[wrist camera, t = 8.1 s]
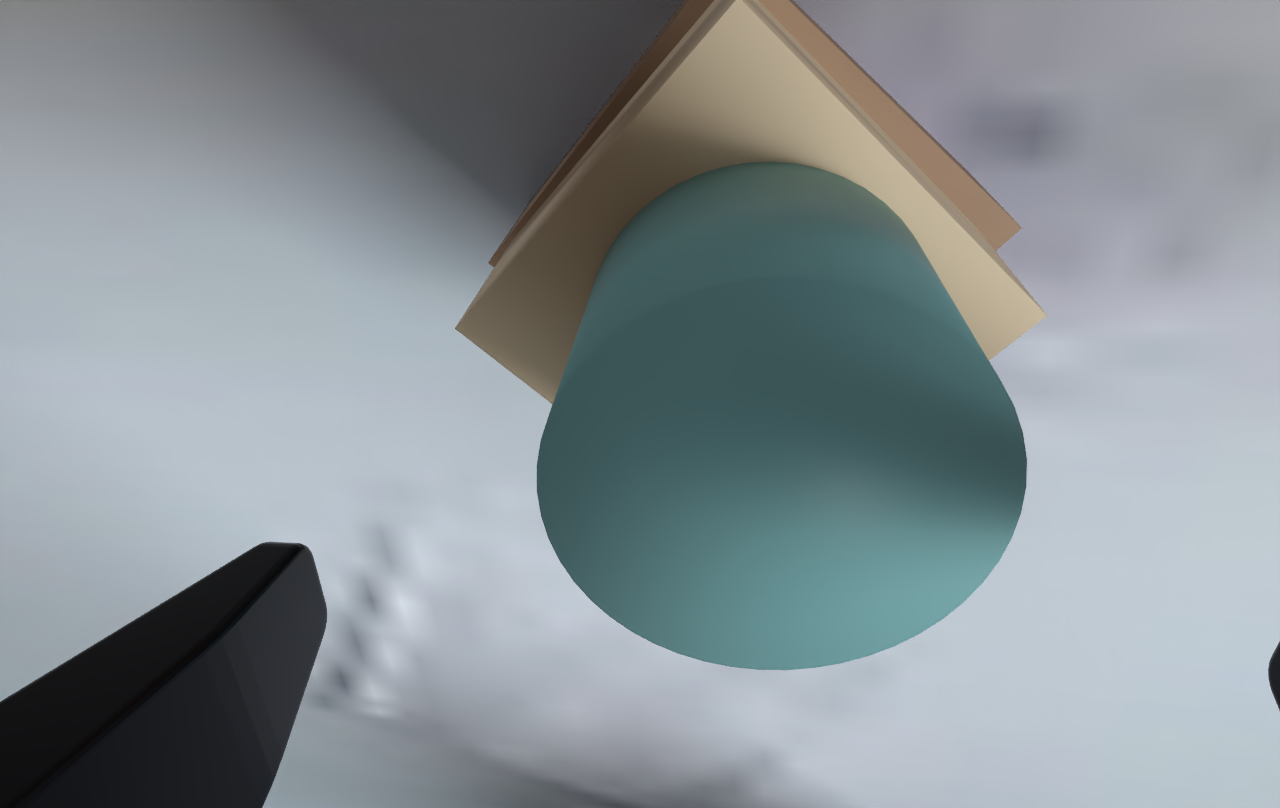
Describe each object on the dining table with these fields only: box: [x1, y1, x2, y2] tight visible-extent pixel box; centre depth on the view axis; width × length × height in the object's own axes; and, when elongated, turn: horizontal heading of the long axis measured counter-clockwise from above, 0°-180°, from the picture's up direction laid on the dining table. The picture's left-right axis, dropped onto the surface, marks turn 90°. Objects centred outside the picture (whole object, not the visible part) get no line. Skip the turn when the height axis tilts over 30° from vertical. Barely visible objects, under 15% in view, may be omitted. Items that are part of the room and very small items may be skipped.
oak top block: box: [455, 0, 1047, 404], centre depth 14 cm, size 6×6×4 cm
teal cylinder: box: [537, 162, 1027, 670], centre depth 10 cm, size 5×5×4 cm
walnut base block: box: [488, 0, 1021, 268], centre depth 17 cm, size 7×7×4 cm
